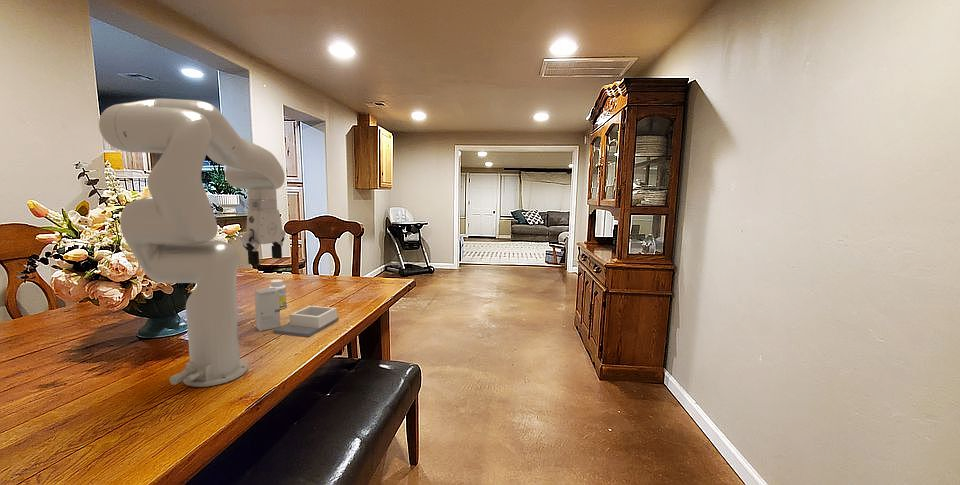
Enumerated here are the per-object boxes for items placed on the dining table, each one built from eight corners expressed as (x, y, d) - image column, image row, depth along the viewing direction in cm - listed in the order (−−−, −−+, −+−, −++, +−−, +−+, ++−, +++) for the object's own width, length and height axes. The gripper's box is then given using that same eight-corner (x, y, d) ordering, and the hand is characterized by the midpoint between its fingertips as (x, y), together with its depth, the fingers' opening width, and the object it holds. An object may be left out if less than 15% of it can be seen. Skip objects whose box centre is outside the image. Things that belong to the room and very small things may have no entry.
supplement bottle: (269, 306, 144) (268, 279, 142) (286, 305, 146) (285, 278, 145) (269, 311, 139) (268, 282, 137) (286, 309, 141) (285, 281, 140)
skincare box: (259, 331, 119) (257, 292, 118) (255, 327, 122) (253, 289, 121) (281, 327, 123) (279, 289, 122) (276, 323, 127) (275, 286, 125)
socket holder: (308, 337, 116) (308, 322, 115) (273, 333, 118) (272, 318, 117) (338, 320, 131) (338, 307, 131) (306, 316, 134) (306, 304, 133)
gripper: (251, 207, 109) (255, 267, 111) (293, 204, 126) (295, 257, 128) (228, 206, 110) (232, 265, 113) (272, 203, 127) (275, 255, 130)
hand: (265, 261), depth 121 cm, fingers open, 9 cm apart
